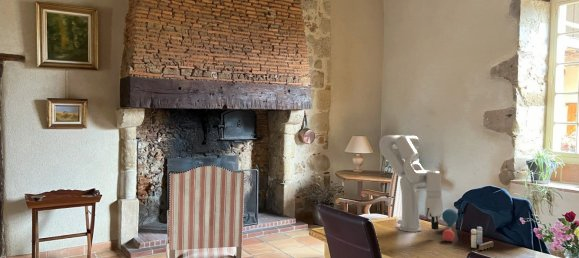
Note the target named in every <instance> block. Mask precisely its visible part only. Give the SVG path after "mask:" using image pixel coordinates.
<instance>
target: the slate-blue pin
mask: <svg viewBox="0 0 579 258" xmlns="http://www.w3.org/2000/svg"><path fill="white" fill-rule="evenodd" d="M481 244H483V227H482V226H476V245H478V246H479V245H481Z"/></svg>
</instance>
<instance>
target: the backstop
mask: <svg viewBox="0 0 579 258" xmlns="http://www.w3.org/2000/svg"><path fill="white" fill-rule="evenodd" d="M490 247H491V248H494V241H492V240H491V241H487V242H484V243H482V244H481V245H478V251H480V250H482V251H485V250H488V249H491V248H490ZM487 248H488V249H487ZM484 249H485V250H484Z"/></svg>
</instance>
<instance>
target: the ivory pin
mask: <svg viewBox="0 0 579 258" xmlns="http://www.w3.org/2000/svg"><path fill="white" fill-rule="evenodd" d="M470 235H471V236H470V248H473V249H474V248H475V249H476V248H477V229H475V228H472V229H471V230H470Z"/></svg>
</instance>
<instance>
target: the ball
mask: <svg viewBox="0 0 579 258" xmlns="http://www.w3.org/2000/svg"><path fill="white" fill-rule="evenodd" d="M441 235H442V238H443V240H444V241H446V242H452V241H454V239H455V236H456V234H455V231H453V229H452V230H449V229H448V228H447V229H445V230H444V231H442V234H441Z"/></svg>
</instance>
